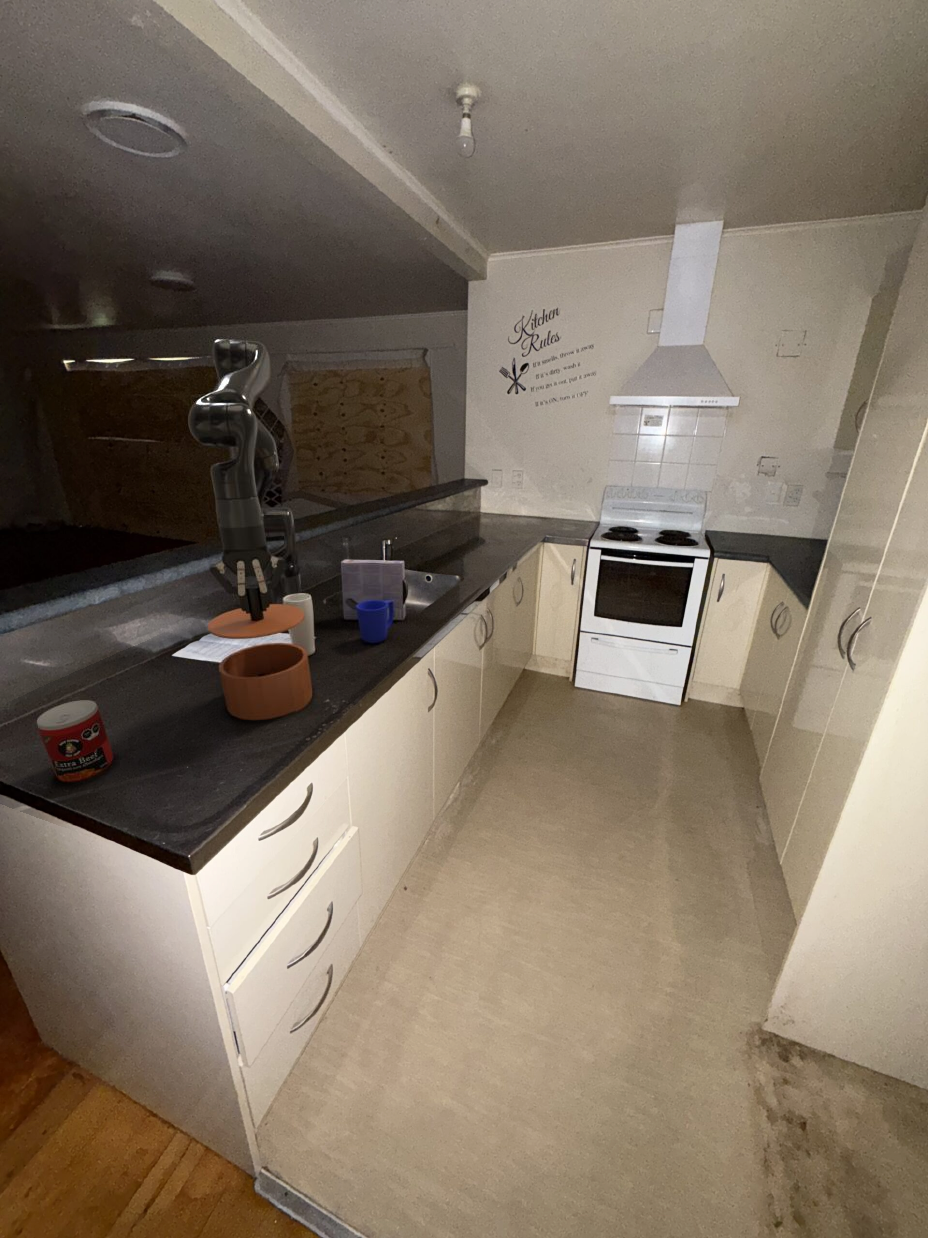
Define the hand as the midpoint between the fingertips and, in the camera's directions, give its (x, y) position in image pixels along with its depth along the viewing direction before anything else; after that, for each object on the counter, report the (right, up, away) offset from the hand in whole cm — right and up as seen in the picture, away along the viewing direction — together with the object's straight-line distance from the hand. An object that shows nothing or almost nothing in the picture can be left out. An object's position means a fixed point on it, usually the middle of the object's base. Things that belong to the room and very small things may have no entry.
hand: (256, 610), depth 94 cm
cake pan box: (+14, -1, +52) cm, 54 cm away
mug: (+17, -7, +38) cm, 43 cm away
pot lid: (0, -2, +1) cm, 2 cm away
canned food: (-22, -27, -13) cm, 38 cm away
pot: (0, -19, +7) cm, 20 cm away
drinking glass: (0, -10, +29) cm, 31 cm away
